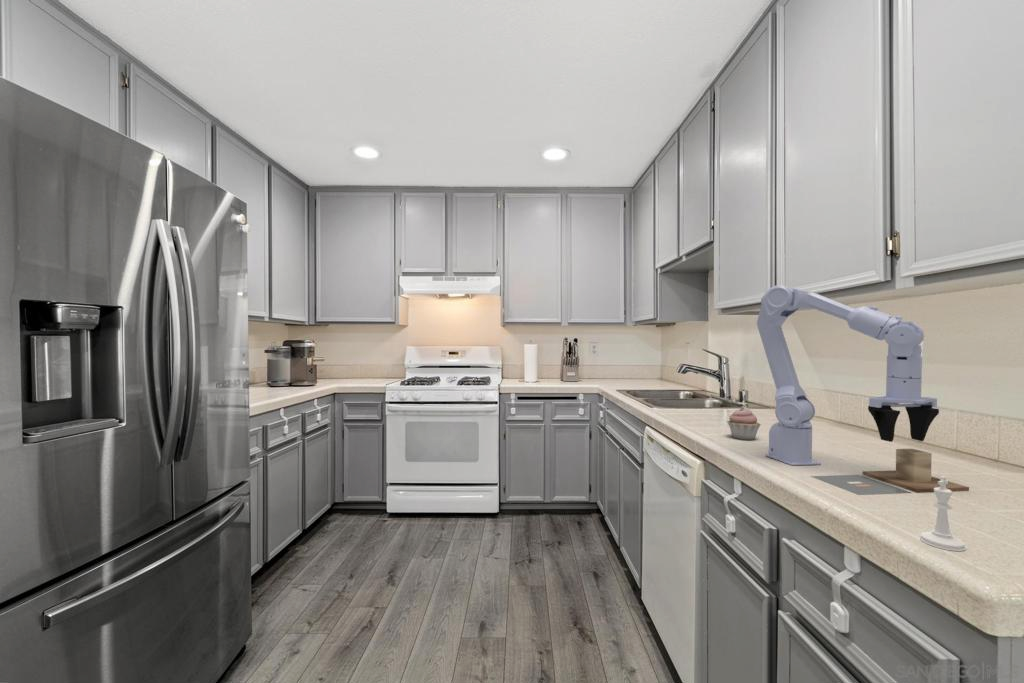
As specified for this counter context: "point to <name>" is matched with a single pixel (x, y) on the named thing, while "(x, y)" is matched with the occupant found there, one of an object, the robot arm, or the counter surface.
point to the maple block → (913, 465)
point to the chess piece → (942, 522)
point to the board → (912, 486)
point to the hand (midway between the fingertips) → (902, 440)
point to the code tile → (860, 484)
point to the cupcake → (743, 424)
